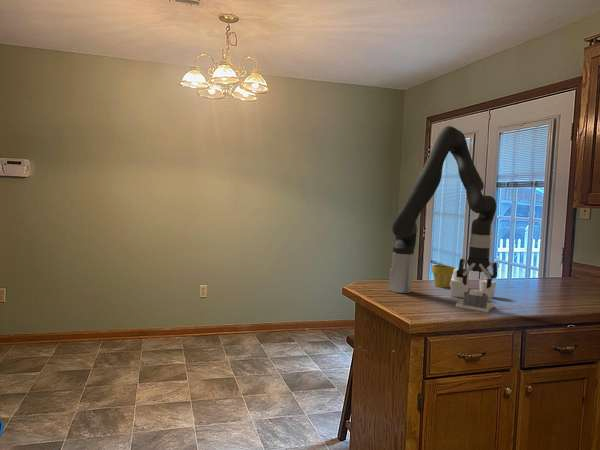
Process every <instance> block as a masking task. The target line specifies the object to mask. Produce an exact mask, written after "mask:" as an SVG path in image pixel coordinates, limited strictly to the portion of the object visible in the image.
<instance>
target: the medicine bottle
mask: <svg viewBox="0 0 600 450" xmlns="http://www.w3.org/2000/svg"><path fill="white" fill-rule="evenodd" d="M458 270H459V267H458V268H454V270H453V275H452V278H451V282H450V290H449V291H450V294H449V295H450V297H451V298H459V299H461V298H462V299H464V292H467V291H469V286H470V285H469V283H470V282H469V279H468V277H467V285H464V284H463V275H462V274H459V273H458ZM466 270H467V269H466V268H463V271H464V272H465V271H466ZM468 274H469V273H468ZM468 274H467V276H469V275H468Z"/></svg>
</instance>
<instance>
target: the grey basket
mask: <svg viewBox="0 0 600 450" xmlns="http://www.w3.org/2000/svg"><path fill="white" fill-rule="evenodd" d="M488 299H489V298H488V295H487V294H485V293H483V296H476V295H470V294H469V290H468V291H467V292H464V298H462V299H461V300H459V301H457V302H456V303H455V307H456V308H461V309H465V310H472V311H477V312H482V313H484V312H485V313H489V312H490V311H491V310H492V309H493V308H494V307H495V303H492V302H488Z"/></svg>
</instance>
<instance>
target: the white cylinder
mask: <svg viewBox="0 0 600 450" xmlns="http://www.w3.org/2000/svg"><path fill="white" fill-rule="evenodd" d="M478 283H479V285H478V286H479V291H482V292H483V293H485V294H487V295H488V299H493V298H494V296H495V295H494V294H495V289H496V284H497V282H496V281H493V280H492V284H491V287H489V289H488V288H487V279H479V282H478Z"/></svg>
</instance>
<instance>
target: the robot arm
mask: <svg viewBox="0 0 600 450" xmlns="http://www.w3.org/2000/svg"><path fill="white" fill-rule="evenodd" d="M433 143H434V144H433V146H432V148H431V151H430V153H429V155H428V156H427V159H426V161H425V163H424V166H423V168H422V170H421V171H420V173H419V175H418V177H417V179H416V180H415V182H414V185H413V187H412V188H411V191H410V192H409V195H408V197H407V199H406V202H405V204H404V206H403V207H402V209H401V211H400V212H399V214H398V215H397V217H396V219H394V222H393V223H392V233H393V235H394V236H395V240H394V244H393V246H392V258H391V268H390V269H389V274H388V275H389V276H388V291H390V292H393V293H399V294H410V293H411V292H412V285H413V270H414V253H415V249H416V244H417V232H418V228H417V227H418V226H417V223H416V221H417V220H418V218H419V216H420V213H421V212H422V211H423V209H424V208H425V207H426V206H427V205H428V203H429V202H430V201H431V200H432V197H434V195H435V193H436V191H437V189H438V188H439V186H440V183H441V180H442V174H443V167H444V163H445V160H446V158H447V156H448V154H449V153H450V154H451V155H452V157H453V158H454V160H455V161H456V164H457V170H458V175H459V178H460V180H461V183H462V185H463V187H464V190H465V191H466V197H467V198H466V199H467V204H468V206H469V208H470V210H471V211H472V212H473V213H474V214H478V217H477V218H476V219H473V220H472V221H471V229H470V230H471V232H470V236H469V237H470V238H469V244H468V245H469V249H468V258H467V259H465V258H460V259H459V263H458V264H459V265H458V268H459V270H458V273H459V274H462V275H463V284H464V285H467V280H468V278H467V277H468V276H469V275H468V276H467V274H469V273H470V272H471V271H473V272H478V273H482V272H483V273H484V275H485V276H486V278H487V279H486V280H487V288H488V289H489V287H491V284H492V281H493V279H497V277H498V262H497V261H495V262H490V253H491V252H490V251H491V229H492V228H491V227H492V223H493V220H494V217H495V214H496V211H497V202H496V199H495V197H493V196H492V195H483V194H482V191H483V190H484V188H485V185H484V181H483V179H482V178H481V175H480V174H479V171H478V170H477V168H476V165H475V163H474V160H473V159H472V157H471V153H470V150H469V146H468V143H467V139H466V136H465V134H464V133H463V132H462V131H461V130H459V129H458V128H455V127H454V126H451V125H448V126H445V127H443V128H442V129H441V130H439V132H438V134H437V136H436V138H435V141H434V142H433ZM466 263H467V265H468V267H467V269H466V271H465V272H464V271H463V269H464V265H466ZM489 266H490V267H491V268H492V274H491V272H490V270H489V269H488V267H489Z"/></svg>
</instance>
